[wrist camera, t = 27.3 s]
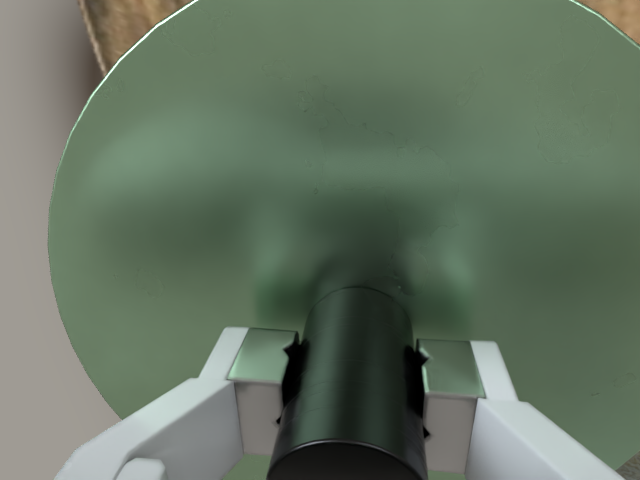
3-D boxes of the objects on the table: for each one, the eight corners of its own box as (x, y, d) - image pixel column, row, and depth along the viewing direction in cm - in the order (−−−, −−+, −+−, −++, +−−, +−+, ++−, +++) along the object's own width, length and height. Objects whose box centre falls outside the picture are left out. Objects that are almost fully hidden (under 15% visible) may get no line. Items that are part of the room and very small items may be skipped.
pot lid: (601, 522, 13) (721, 788, 9) (139, 475, 15) (31, 675, 10) (826, -61, 7) (1664, -229, 2) (-1, -26, 9) (-424, -88, 4)
